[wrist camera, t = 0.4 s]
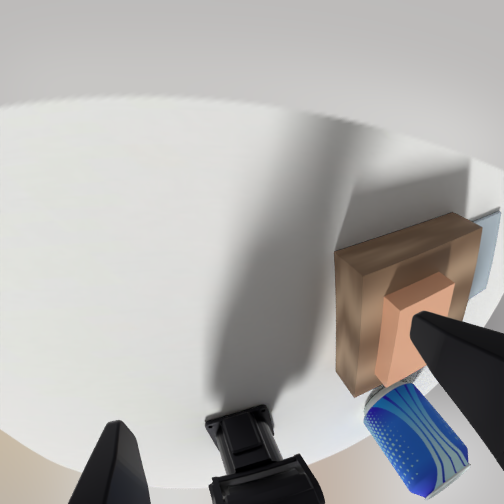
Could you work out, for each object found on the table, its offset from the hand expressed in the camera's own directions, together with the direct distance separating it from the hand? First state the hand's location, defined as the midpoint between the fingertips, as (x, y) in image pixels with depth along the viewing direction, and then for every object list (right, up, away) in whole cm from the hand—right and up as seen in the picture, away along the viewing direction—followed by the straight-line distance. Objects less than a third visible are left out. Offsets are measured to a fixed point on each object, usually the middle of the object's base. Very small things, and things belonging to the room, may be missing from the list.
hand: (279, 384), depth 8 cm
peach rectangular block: (+12, -3, +17) cm, 21 cm away
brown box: (+13, -1, +20) cm, 24 cm away
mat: (+25, +2, +23) cm, 34 cm away
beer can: (+17, -16, +29) cm, 38 cm away
